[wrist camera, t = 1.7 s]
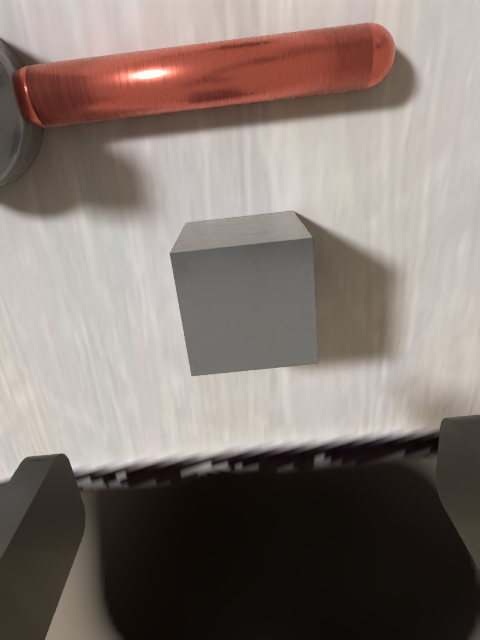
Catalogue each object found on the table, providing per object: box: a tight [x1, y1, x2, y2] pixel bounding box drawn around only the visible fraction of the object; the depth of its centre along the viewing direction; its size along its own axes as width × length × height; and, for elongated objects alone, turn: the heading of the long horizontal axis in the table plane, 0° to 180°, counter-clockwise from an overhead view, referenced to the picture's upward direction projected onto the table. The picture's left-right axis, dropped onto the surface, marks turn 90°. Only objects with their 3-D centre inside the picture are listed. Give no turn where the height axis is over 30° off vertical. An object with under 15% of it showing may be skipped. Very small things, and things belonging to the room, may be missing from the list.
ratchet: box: [0, 23, 395, 186], centre depth 16 cm, size 23×7×8 cm, turn 96°
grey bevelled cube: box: [170, 211, 318, 376], centre depth 20 cm, size 6×6×6 cm
